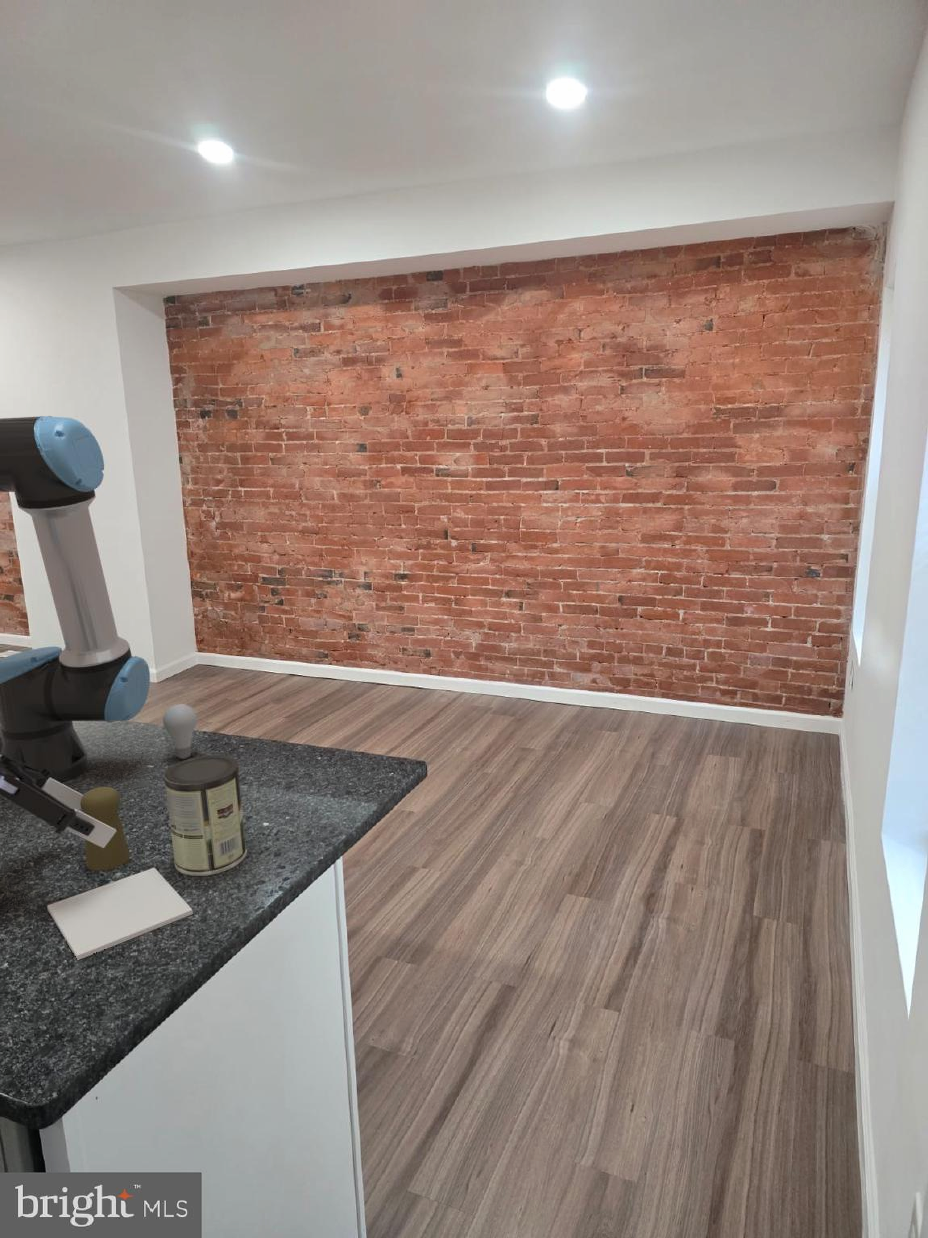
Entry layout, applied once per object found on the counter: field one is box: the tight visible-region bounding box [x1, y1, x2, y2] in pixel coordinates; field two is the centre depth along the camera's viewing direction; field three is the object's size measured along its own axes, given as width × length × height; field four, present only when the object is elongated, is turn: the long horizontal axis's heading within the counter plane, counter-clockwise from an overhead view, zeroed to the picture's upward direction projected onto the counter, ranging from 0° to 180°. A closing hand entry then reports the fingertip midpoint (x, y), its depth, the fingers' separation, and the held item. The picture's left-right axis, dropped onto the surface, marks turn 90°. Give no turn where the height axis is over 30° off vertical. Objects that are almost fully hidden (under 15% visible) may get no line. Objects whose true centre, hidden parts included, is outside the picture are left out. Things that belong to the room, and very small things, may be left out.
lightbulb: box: [162, 703, 198, 760], centre depth 153 cm, size 6×6×11 cm
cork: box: [80, 786, 131, 872], centre depth 116 cm, size 6×6×11 cm
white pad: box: [47, 867, 194, 961], centre depth 104 cm, size 14×14×1 cm
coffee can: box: [162, 754, 248, 877], centre depth 115 cm, size 10×10×14 cm
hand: (95, 821), depth 114 cm, fingers open, 13 cm apart
